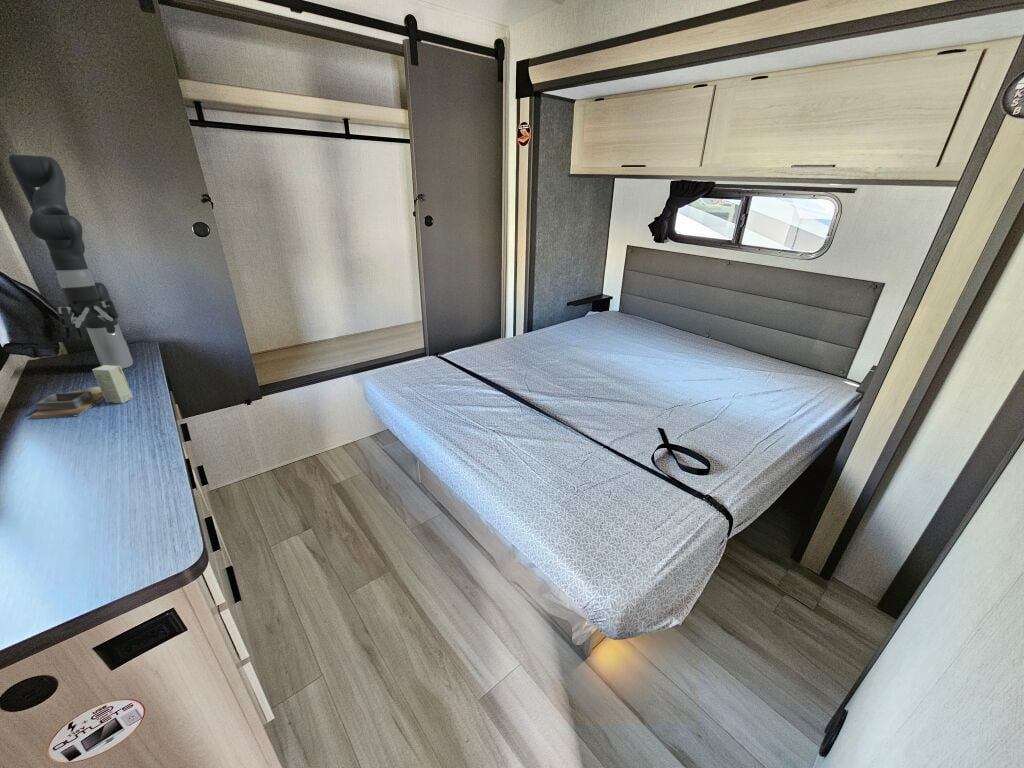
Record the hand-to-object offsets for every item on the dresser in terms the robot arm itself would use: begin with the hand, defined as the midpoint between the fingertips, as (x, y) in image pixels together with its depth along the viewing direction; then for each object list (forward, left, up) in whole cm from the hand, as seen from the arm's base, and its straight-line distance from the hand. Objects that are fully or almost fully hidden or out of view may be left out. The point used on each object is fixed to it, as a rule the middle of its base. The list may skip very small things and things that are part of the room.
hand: (96, 336), depth 133 cm
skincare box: (+1, 0, -23) cm, 23 cm away
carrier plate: (+3, -11, -23) cm, 25 cm away
